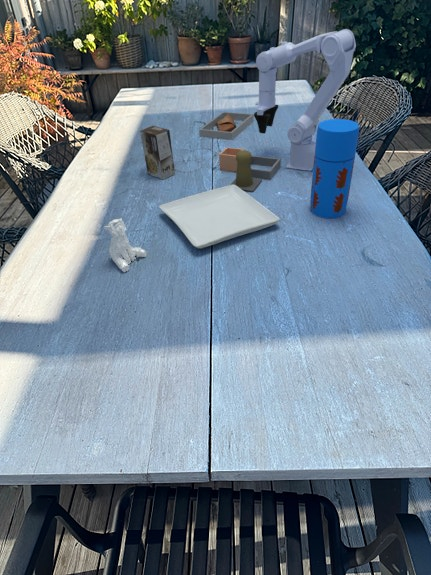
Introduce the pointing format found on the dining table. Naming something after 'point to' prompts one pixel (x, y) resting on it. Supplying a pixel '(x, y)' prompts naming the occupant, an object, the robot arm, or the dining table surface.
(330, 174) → the thermos
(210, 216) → the square plate
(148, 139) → the coffee box
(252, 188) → the dark grey rubber mat
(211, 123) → the dark grey tray
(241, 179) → the cork
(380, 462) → the dining table surface
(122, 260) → the sitting furry creature
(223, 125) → the sunglasses case
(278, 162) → the grey rectangular frame
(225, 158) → the terracotta pot
